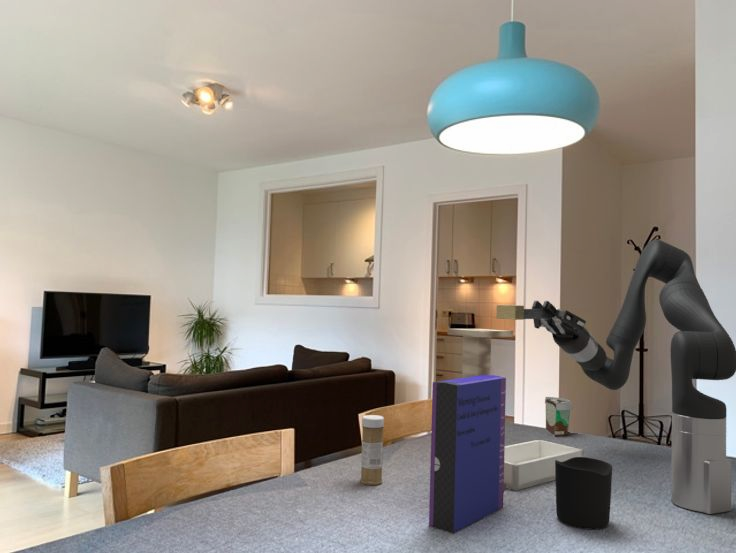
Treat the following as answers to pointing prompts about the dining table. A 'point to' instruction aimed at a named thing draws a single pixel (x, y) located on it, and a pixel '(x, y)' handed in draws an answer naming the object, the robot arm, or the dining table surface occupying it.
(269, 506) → the dining table surface
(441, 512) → the purple book
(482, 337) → the bracket
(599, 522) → the pen holder
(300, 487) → the dining table surface
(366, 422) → the sprinkles bottle
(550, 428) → the food container
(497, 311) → the pin
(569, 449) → the tray
